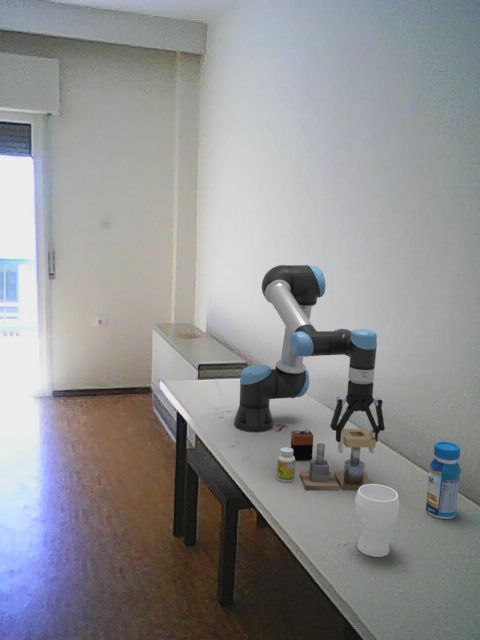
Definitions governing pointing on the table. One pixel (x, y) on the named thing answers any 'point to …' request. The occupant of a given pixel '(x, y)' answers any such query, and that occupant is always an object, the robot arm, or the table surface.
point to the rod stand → (319, 473)
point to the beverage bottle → (444, 481)
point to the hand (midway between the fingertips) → (355, 451)
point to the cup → (376, 517)
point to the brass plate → (358, 438)
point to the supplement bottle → (286, 465)
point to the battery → (302, 444)
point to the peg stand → (352, 472)
